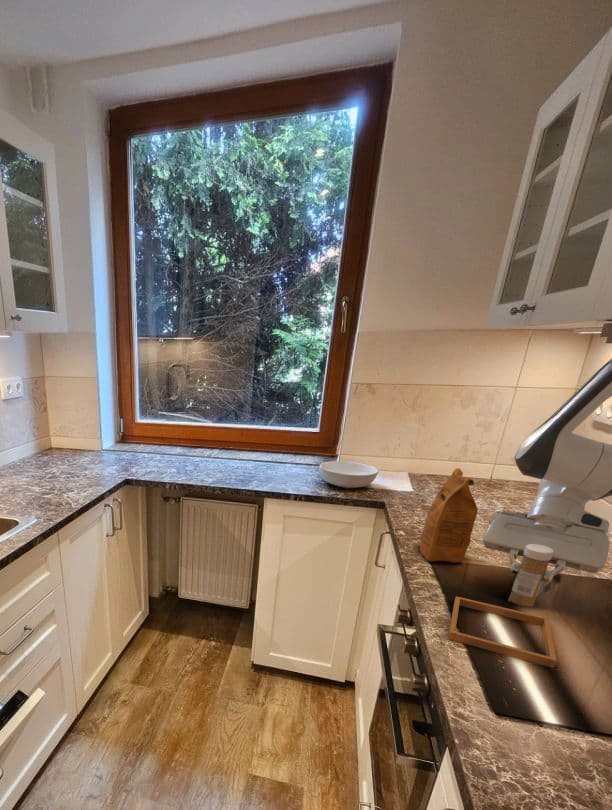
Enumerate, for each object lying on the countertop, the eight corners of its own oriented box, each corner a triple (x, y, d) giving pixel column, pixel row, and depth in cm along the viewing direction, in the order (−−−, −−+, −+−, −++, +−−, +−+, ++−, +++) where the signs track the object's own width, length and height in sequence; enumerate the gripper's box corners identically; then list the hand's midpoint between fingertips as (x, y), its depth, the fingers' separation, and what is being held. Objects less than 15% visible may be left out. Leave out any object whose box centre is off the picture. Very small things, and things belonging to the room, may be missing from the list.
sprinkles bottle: (537, 608, 99) (559, 549, 93) (524, 613, 97) (545, 553, 91) (514, 598, 102) (534, 541, 97) (501, 602, 101) (521, 545, 95)
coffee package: (456, 548, 126) (479, 468, 117) (466, 567, 116) (492, 481, 107) (415, 543, 129) (434, 464, 120) (421, 562, 119) (442, 477, 110)
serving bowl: (368, 496, 168) (372, 477, 165) (310, 487, 178) (312, 469, 175) (379, 482, 183) (383, 465, 181) (325, 474, 194) (328, 458, 191)
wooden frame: (544, 629, 91) (549, 618, 90) (551, 673, 80) (556, 660, 78) (452, 606, 99) (455, 596, 98) (446, 643, 87) (450, 632, 86)
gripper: (495, 501, 103) (472, 555, 100) (620, 523, 90) (597, 586, 87) (493, 515, 107) (471, 567, 105) (612, 538, 95) (590, 598, 92)
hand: (530, 576), depth 96 cm, fingers closed on sprinkles bottle, 4 cm apart
